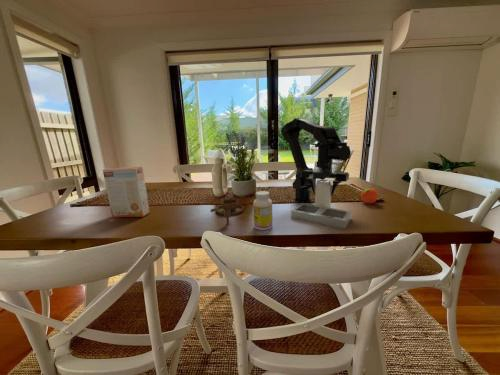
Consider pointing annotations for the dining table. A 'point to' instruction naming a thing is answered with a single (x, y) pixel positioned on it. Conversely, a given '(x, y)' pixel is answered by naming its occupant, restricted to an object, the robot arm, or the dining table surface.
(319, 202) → the can
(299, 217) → the grey compartment tray
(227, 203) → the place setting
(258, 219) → the supplement bottle
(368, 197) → the clementine
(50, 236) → the dining table surface
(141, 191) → the cracker box
